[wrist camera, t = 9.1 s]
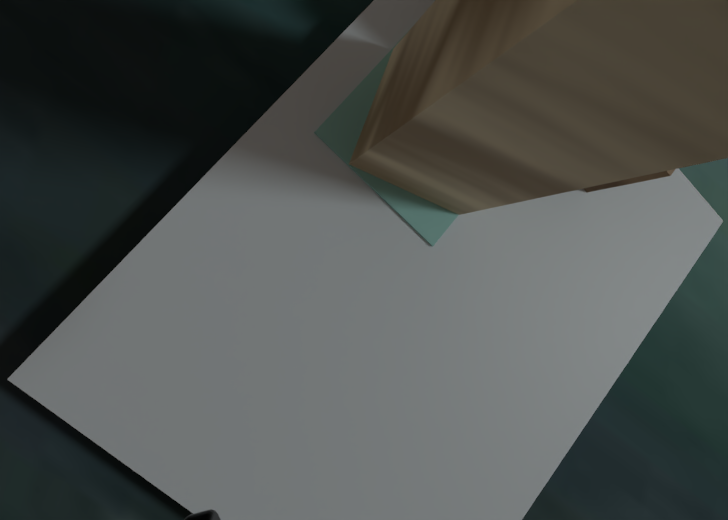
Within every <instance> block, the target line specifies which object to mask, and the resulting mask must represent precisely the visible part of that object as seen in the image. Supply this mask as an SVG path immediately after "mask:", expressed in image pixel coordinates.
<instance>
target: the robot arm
mask: <svg viewBox="0 0 728 520" xmlns="http://www.w3.org/2000/svg"><path fill="white" fill-rule="evenodd" d="M184 520H221V519H220V517H219V515H218V513H217V512H216V511H215V510H212V509H210V510H206V511H202V512H198V513H194V514H191V515H189V516H187V517H186V518H185V519H184Z"/></svg>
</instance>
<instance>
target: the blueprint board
mask: <svg viewBox="0 0 728 520" xmlns="http://www.w3.org/2000/svg"><path fill="white" fill-rule="evenodd" d="M434 1H435V0H374V1H373V2H372V3H371V4H370V5H369V6H368V7H367V8H366V9H365V10H364V11H363V12H362V13H361V14H360V15H359V16H358V17H357V18H356V19H355V20H354V21H353V22H352V23H351V24H350V26H349V27H348V28H347V29H346V30H345V31H344V32H343V33H342V34H341V35H340V36H339V37H338V38H337V39H336V40H335V41H334V42H333V43H332V44H331V45H330V46H329V47H328V48H327V49H326V50H325V51H324V52H323V53H322V54H321V55H320V57H319V58H318V59H317V60H316V61H315V62H314V63H313V64H312V65H311V66H310V67H309V68H308V69H307V70H306V71H305V72H304V73H303V74H302V75H301V76H300V77H299V78H298V79H297V80H296V81H295V82H294V83H293V84H292V85H291V86H290V88H289V89H288V90H287V91H286V92H285V93H284V94H283V95H282V96H281V97H280V98H279V99H278V100H277V101H276V102H275V103H274V104H273V105H272V106H271V107H270V108H269V109H268V110H267V111H266V112H265V113H264V114H263V115H262V116H261V117H260V119H259V120H258V121H257V122H256V123H255V124H254V125H253V126H252V127H251V128H250V129H249V130H248V131H247V132H246V133H245V134H244V135H243V136H242V137H241V138H240V139H239V140H238V141H237V142H236V143H235V144H234V145H233V146H232V147H231V148H230V150H229V151H228V152H227V153H226V154H225V155H224V156H223V157H222V158H221V159H220V160H219V161H218V162H217V163H216V164H215V165H214V166H213V167H212V168H211V169H210V170H209V171H208V172H207V173H206V174H205V175H204V176H203V177H202V178H201V179H200V181H199V182H198V183H197V184H196V185H195V186H194V187H193V188H192V189H191V190H190V191H189V192H188V193H187V194H186V195H185V196H184V197H183V198H182V199H181V200H180V201H179V202H178V203H177V204H176V205H175V206H174V207H173V208H172V209H171V210H170V212H169V213H168V214H167V215H166V216H165V217H164V218H163V219H162V220H161V221H160V222H159V223H158V224H157V225H156V226H155V227H154V228H153V229H152V230H151V231H150V232H149V233H148V234H147V235H146V236H145V237H144V238H143V239H142V240H141V241H140V243H139V244H138V245H137V246H136V247H135V248H134V249H133V250H132V251H131V252H130V253H129V254H128V255H127V256H126V257H125V258H124V259H123V260H122V261H121V262H120V263H119V264H118V265H117V266H116V267H115V268H114V269H113V270H112V271H111V272H110V273H109V275H108V276H107V277H106V278H105V279H104V280H103V281H102V282H101V283H100V284H99V285H98V286H97V287H96V288H95V289H94V290H93V291H92V292H91V293H90V294H89V295H88V296H87V297H86V298H85V299H84V300H83V301H82V302H81V303H80V304H79V306H78V307H77V308H76V309H75V310H74V311H73V312H72V313H71V314H70V315H69V316H68V317H67V318H66V319H65V320H64V321H63V322H62V323H61V324H60V325H59V326H58V327H57V328H56V329H55V330H54V331H53V332H52V333H51V334H50V335H49V337H48V338H47V339H46V340H45V341H44V342H43V343H42V344H41V345H40V346H39V347H38V348H37V349H36V350H35V351H34V352H33V353H32V354H31V355H30V356H29V357H28V358H27V359H26V360H25V361H24V362H23V363H22V364H21V365H20V366H19V368H18V369H17V370H16V371H15V372H14V373H13V374H12V375H11V376H10V377H9V378H8V379H7V380H9V381H10V382H11V383H13V384H14V385H16V386H17V387H18V388H20V389H21V390H23V391H24V392H25V393H27V394H28V395H29V396H31V397H32V398H34V399H35V400H36V401H38V402H39V403H41V404H42V405H43V406H45V407H46V408H47V409H49V410H50V411H52V412H53V413H54V414H56V415H57V416H59V417H60V418H61V419H63V420H64V421H65V422H67V423H68V424H70V425H71V426H72V427H74V428H75V429H77V430H78V431H79V432H81V433H82V434H84V435H85V436H86V437H88V438H89V439H90V440H92V441H93V442H95V443H96V444H97V445H99V446H100V447H102V448H103V449H104V450H106V451H107V452H108V453H110V454H111V455H113V456H114V457H115V458H117V459H118V460H120V461H121V462H122V463H124V464H125V465H126V466H128V467H129V468H131V469H132V470H133V471H135V472H136V473H138V474H139V475H140V476H142V477H143V478H145V479H146V480H147V481H149V482H150V483H151V484H153V485H154V486H156V487H157V488H158V489H160V490H161V491H163V492H164V493H165V494H167V495H168V496H169V497H171V498H172V499H174V500H175V501H176V502H178V503H179V504H181V505H182V506H183V507H185V508H186V509H187V510H189V511H190V512H192V513H193V514H194V513H198V512H202V511H206V510H210V509H212V510H215V511H216V512H217V513H218V515H219V517H220V519H221V520H522V519H523V517H524V516H525V514H526V513H527V511H528V510H529V508H530V507H531V505H532V504H533V502H534V501H535V499H536V498H537V496H538V495H539V493H540V492H541V490H542V489H543V488H544V486H545V485H546V483H547V482H548V480H549V479H550V477H551V476H552V474H553V473H554V471H555V470H556V468H557V467H558V465H559V464H560V462H561V461H562V459H563V458H564V456H565V455H566V453H567V452H568V450H569V449H570V448H571V446H572V445H573V443H574V442H575V440H576V439H577V437H578V436H579V434H580V433H581V431H582V430H583V428H584V427H585V425H586V424H587V422H588V421H589V419H590V418H591V416H592V415H593V413H594V412H595V410H596V409H597V407H598V406H599V405H600V403H601V402H602V400H603V399H604V397H605V396H606V394H607V393H608V391H609V390H610V388H611V387H612V385H613V384H614V382H615V381H616V379H617V378H618V376H619V375H620V373H621V372H622V370H623V369H624V367H625V366H626V365H627V363H628V362H629V360H630V359H631V357H632V356H633V354H634V353H635V351H636V350H637V348H638V347H639V345H640V344H641V342H642V341H643V339H644V338H645V336H646V335H647V333H648V332H649V330H650V329H651V327H652V326H653V324H654V323H655V322H656V320H657V319H658V317H659V316H660V314H661V313H662V311H663V310H664V308H665V307H666V305H667V304H668V302H669V301H670V299H671V298H672V296H673V295H674V293H675V292H676V290H677V289H678V287H679V286H680V284H681V283H682V282H683V280H684V279H685V277H686V276H687V274H688V273H689V271H690V270H691V268H692V267H693V265H694V264H695V262H696V261H697V259H698V258H699V256H700V255H701V253H702V252H703V250H704V249H705V247H706V246H707V244H708V243H709V241H710V240H711V239H712V237H713V236H714V234H715V233H716V231H717V230H718V228H719V227H720V225H721V224H722V222H723V220H722V219H721V218H720V217H719V215H718V214H717V213H716V212H715V211H714V210H713V208H712V207H711V206H710V205H709V204H708V203H707V201H706V200H705V199H704V198H703V197H702V196H701V194H700V193H699V192H698V191H697V190H696V189H695V187H694V186H693V185H692V184H691V183H690V182H689V180H688V179H687V178H686V177H685V176H684V175H683V173H682V172H681V171H680V170H679V169H678V168H677V169H675V170H674V172H673V173H672V175H671V176H667V177H662V178H657V179H652V180H647V181H642V182H637V183H632V184H627V185H622V186H617V187H612V188H607V189H602V190H597V191H592V192H586V191H585V190H584V189H579V190H574V191H569V192H564V193H560V194H555V195H550V196H546V197H541V198H536V199H532V200H527V201H522V202H517V203H513V204H508V205H503V206H499V207H494V208H489V209H484V210H480V211H475V212H470V213H466V214H461V215H458V214H456V213H454V212H452V211H449V210H447V209H445V208H443V207H441V206H439V205H436V204H434V203H432V202H430V201H428V200H425V199H423V198H421V197H419V196H417V195H415V194H412V193H410V192H408V191H406V190H404V189H402V188H399V187H397V186H395V185H393V184H391V183H389V182H386V181H384V180H382V179H380V178H378V177H375V176H373V175H371V174H369V173H367V172H365V171H362V170H360V169H358V168H356V167H354V166H352V165H349V162H350V160H351V157H352V155H353V152H354V149H355V147H356V144H357V142H358V139H359V136H360V134H361V131H362V129H363V126H364V123H365V121H366V118H367V116H368V113H369V110H370V108H371V105H372V103H373V100H374V97H375V95H376V92H377V90H378V87H379V84H380V82H381V79H382V77H383V74H384V71H385V69H386V66H387V64H388V61H389V58H390V56H391V53H392V51H393V49H394V48H395V46H396V45H397V44H398V43H399V42H400V41H401V39H402V38H403V37H404V36H405V35H406V34H407V33H408V31H409V30H410V29H411V28H412V27H413V26H414V24H415V23H416V22H417V21H418V20H419V19H420V18H421V16H422V15H423V14H424V13H425V12H426V11H427V9H428V8H429V7H430V6H431V5H432V4H433V3H434Z"/></svg>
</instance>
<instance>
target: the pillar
mask: <svg viewBox="0 0 728 520" xmlns="http://www.w3.org/2000/svg"><path fill="white" fill-rule="evenodd" d="M724 158H728V0H435V1H434V3H433V4H432V5H431V6H430V7H429V8H428V9H427V11H426V12H425V13H424V14H423V15H422V16H421V18H420V19H419V20H418V21H417V22H416V23H415V24H414V26H413V27H412V28H411V29H410V30H409V31H408V33H407V34H406V35H405V36H404V37H403V38H402V39H401V41H400V42H399V43H398V44H397V45H396V46H395V48H394V49H393V51H392V53H391V56H390V58H389V61H388V64H387V66H386V69H385V71H384V74H383V77H382V79H381V82H380V84H379V87H378V90H377V92H376V95H375V97H374V100H373V103H372V105H371V108H370V110H369V113H368V116H367V118H366V121H365V123H364V126H363V129H362V131H361V134H360V136H359V139H358V142H357V144H356V147H355V149H354V152H353V155H352V157H351V160H350V162H349V165H352V166H354V167H356V168H358V169H360V170H362V171H365V172H367V173H369V174H371V175H373V176H375V177H378V178H380V179H382V180H384V181H386V182H389V183H391V184H393V185H395V186H397V187H399V188H402V189H404V190H406V191H408V192H410V193H412V194H415V195H417V196H419V197H421V198H423V199H425V200H428V201H430V202H432V203H434V204H436V205H439V206H441V207H443V208H445V209H447V210H449V211H452V212H454V213H456V214H458V215H461V214H466V213H470V212H475V211H480V210H484V209H489V208H494V207H499V206H503V205H508V204H513V203H517V202H522V201H527V200H532V199H536V198H541V197H546V196H550V195H555V194H560V193H564V192H569V191H574V190H579V189H583V188H588V187H593V186H597V185H602V184H607V183H612V182H616V181H621V180H626V179H630V178H635V177H640V176H644V175H649V174H654V173H659V172H663V171H668V170H673V169H677V168H682V167H687V166H692V165H696V164H701V163H706V162H710V161H715V160H720V159H724Z"/></svg>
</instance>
